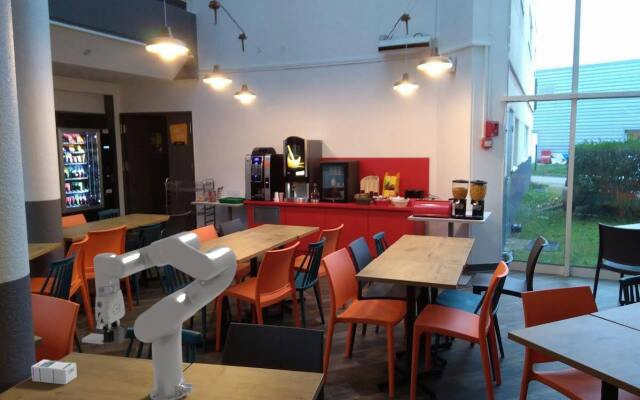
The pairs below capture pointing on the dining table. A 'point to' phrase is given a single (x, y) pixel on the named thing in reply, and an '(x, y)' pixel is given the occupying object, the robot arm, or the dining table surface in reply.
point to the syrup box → (54, 371)
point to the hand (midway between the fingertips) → (111, 339)
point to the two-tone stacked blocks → (99, 339)
